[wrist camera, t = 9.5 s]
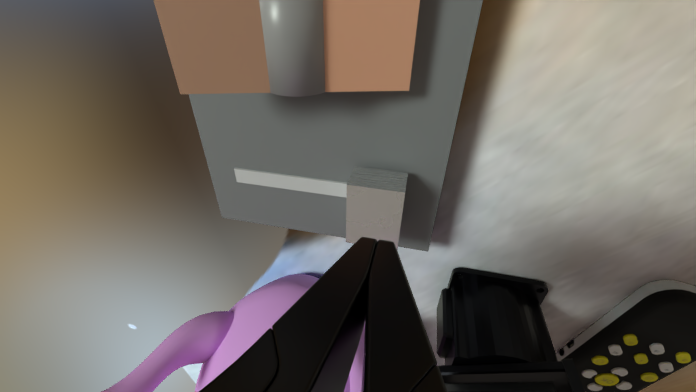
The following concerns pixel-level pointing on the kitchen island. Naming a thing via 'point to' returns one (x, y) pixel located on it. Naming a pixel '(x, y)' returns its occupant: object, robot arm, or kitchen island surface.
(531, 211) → the kitchen island surface
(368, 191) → the small grey block
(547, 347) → the robot arm
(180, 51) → the rocker
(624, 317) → the remote control
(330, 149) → the panel
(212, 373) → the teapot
